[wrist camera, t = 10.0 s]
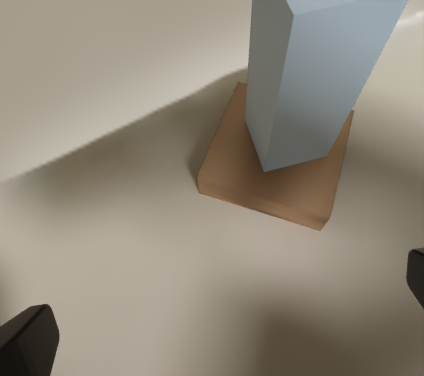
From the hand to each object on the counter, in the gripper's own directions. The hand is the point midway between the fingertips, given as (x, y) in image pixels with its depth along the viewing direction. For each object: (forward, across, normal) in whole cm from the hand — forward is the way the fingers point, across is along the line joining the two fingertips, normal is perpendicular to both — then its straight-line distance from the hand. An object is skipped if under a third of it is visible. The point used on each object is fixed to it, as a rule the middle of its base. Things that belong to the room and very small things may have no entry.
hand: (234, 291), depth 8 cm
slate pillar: (+16, -6, 0) cm, 17 cm away
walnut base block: (+18, -5, +2) cm, 19 cm away
